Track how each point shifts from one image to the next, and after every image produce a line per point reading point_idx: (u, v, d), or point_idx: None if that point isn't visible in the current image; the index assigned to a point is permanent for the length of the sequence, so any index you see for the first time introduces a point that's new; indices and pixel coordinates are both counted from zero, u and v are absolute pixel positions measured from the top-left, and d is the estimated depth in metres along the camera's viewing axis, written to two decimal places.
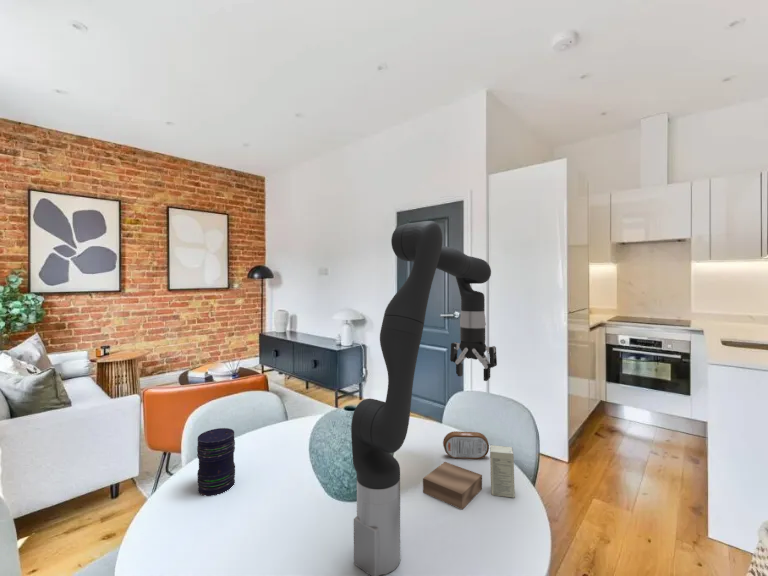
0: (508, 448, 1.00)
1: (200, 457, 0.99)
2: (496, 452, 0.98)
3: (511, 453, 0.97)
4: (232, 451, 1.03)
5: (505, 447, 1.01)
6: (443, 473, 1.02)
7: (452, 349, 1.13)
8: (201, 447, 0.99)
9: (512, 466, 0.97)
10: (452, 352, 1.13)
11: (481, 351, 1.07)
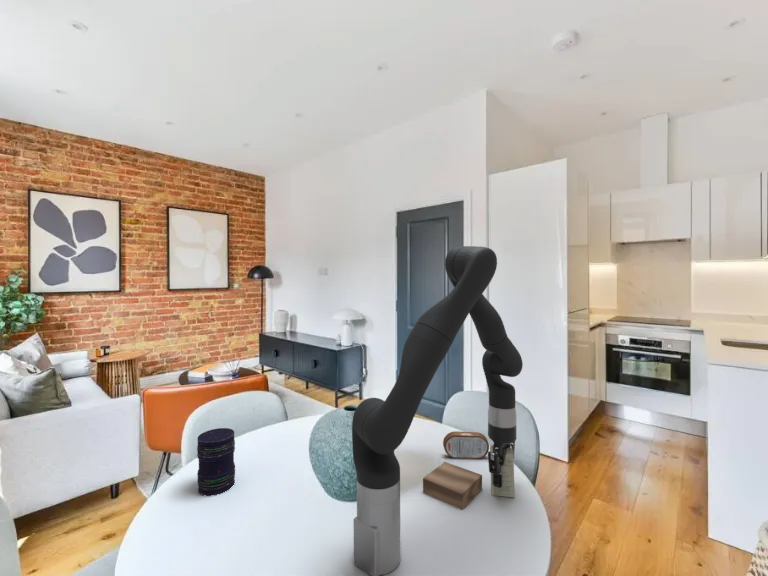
0: None
1: (200, 457, 0.99)
2: None
3: (511, 453, 0.97)
4: (232, 451, 1.03)
5: None
6: (443, 473, 1.02)
7: (498, 461, 0.94)
8: (201, 447, 0.99)
9: (512, 466, 0.97)
10: (498, 464, 0.94)
11: (510, 444, 1.01)
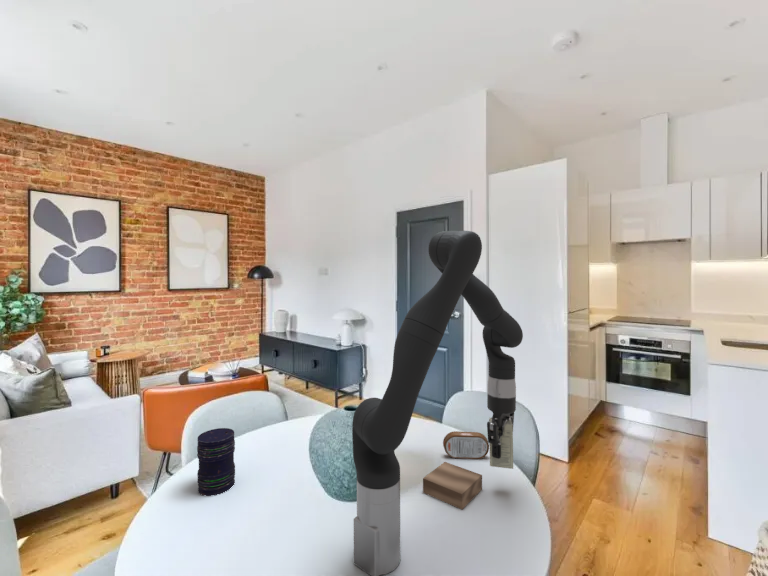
0: None
1: (200, 457, 0.99)
2: None
3: (510, 424, 0.97)
4: (232, 451, 1.03)
5: None
6: (443, 473, 1.02)
7: (497, 431, 0.94)
8: (201, 447, 0.99)
9: (511, 437, 0.97)
10: (497, 434, 0.94)
11: (509, 417, 1.01)
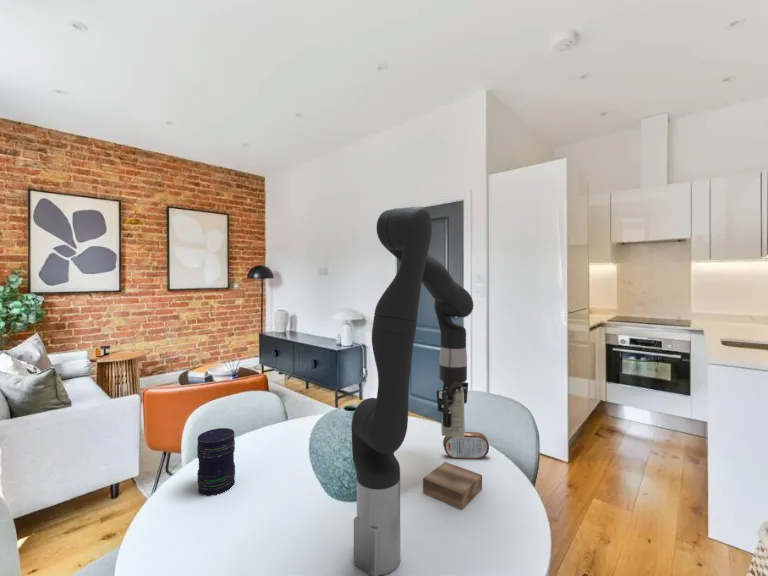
0: None
1: (200, 457, 0.99)
2: None
3: (461, 393, 0.98)
4: (232, 451, 1.03)
5: None
6: (443, 473, 1.02)
7: (446, 399, 0.95)
8: (201, 447, 0.99)
9: (461, 406, 0.97)
10: (446, 402, 0.95)
11: (461, 387, 1.02)
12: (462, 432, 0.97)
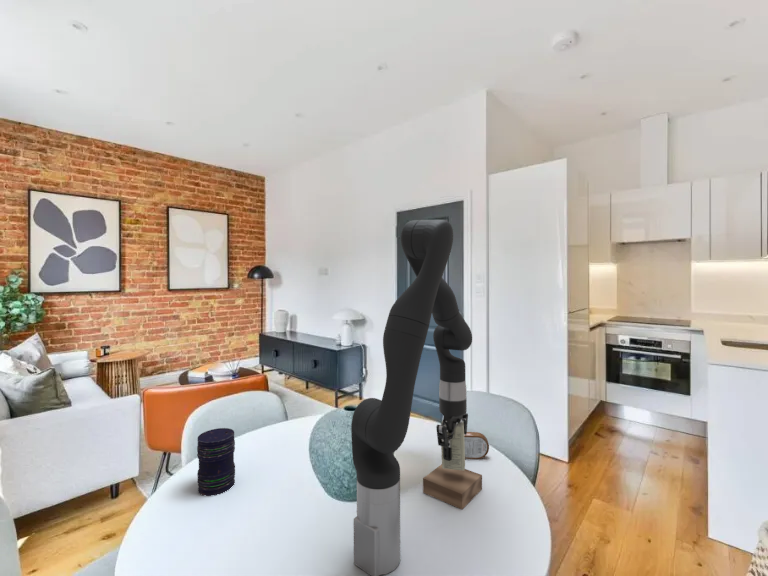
0: None
1: (200, 457, 0.99)
2: None
3: (461, 426, 0.98)
4: (232, 451, 1.03)
5: None
6: (443, 473, 1.02)
7: (446, 434, 0.95)
8: (201, 447, 0.99)
9: (461, 439, 0.98)
10: (446, 437, 0.95)
11: (461, 419, 1.02)
12: (462, 465, 0.98)
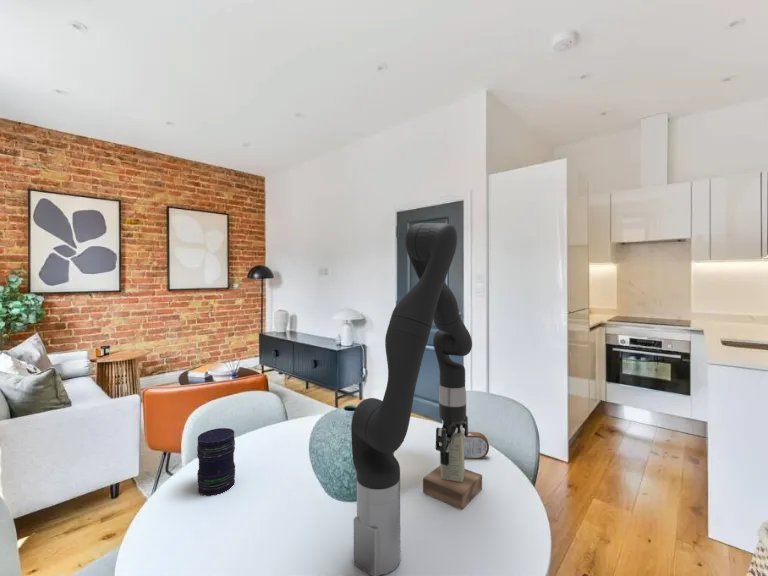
0: (458, 433, 1.00)
1: (200, 457, 0.99)
2: None
3: (459, 438, 0.98)
4: (232, 451, 1.03)
5: None
6: None
7: (445, 437, 0.95)
8: (201, 447, 0.99)
9: (460, 451, 0.97)
10: (445, 441, 0.95)
11: (461, 424, 1.02)
12: (461, 476, 0.97)
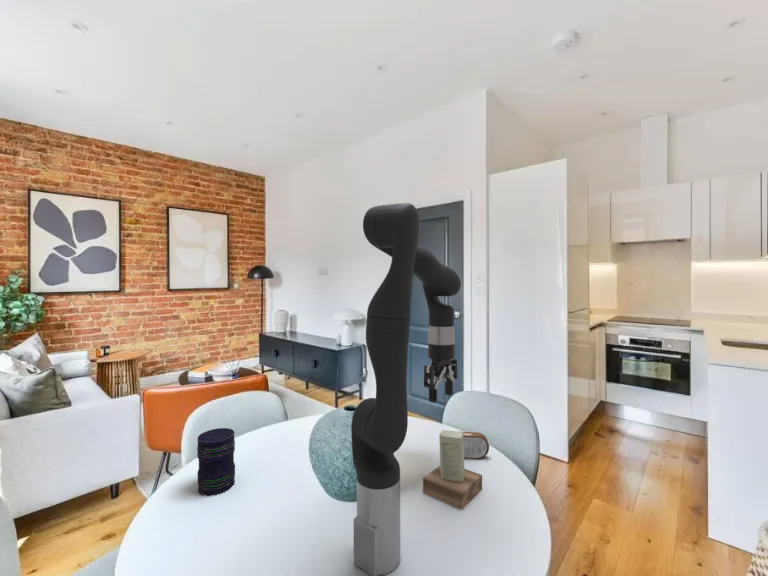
0: (458, 433, 1.00)
1: (200, 457, 0.99)
2: (445, 436, 0.99)
3: (459, 438, 0.98)
4: (232, 451, 1.03)
5: (456, 432, 1.01)
6: None
7: (432, 374, 0.97)
8: (201, 447, 0.99)
9: (460, 451, 0.97)
10: (432, 377, 0.97)
11: (450, 366, 1.04)
12: (461, 476, 0.97)
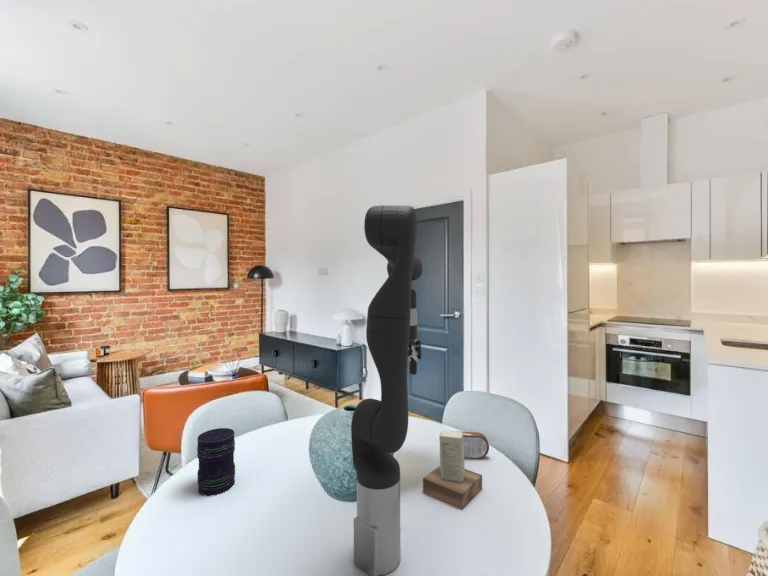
0: (458, 433, 1.00)
1: (200, 457, 0.99)
2: (445, 436, 0.99)
3: (459, 438, 0.98)
4: (232, 451, 1.03)
5: (456, 432, 1.01)
6: None
7: None
8: (201, 447, 0.99)
9: (460, 451, 0.97)
10: None
11: (413, 346, 1.10)
12: (461, 476, 0.97)
